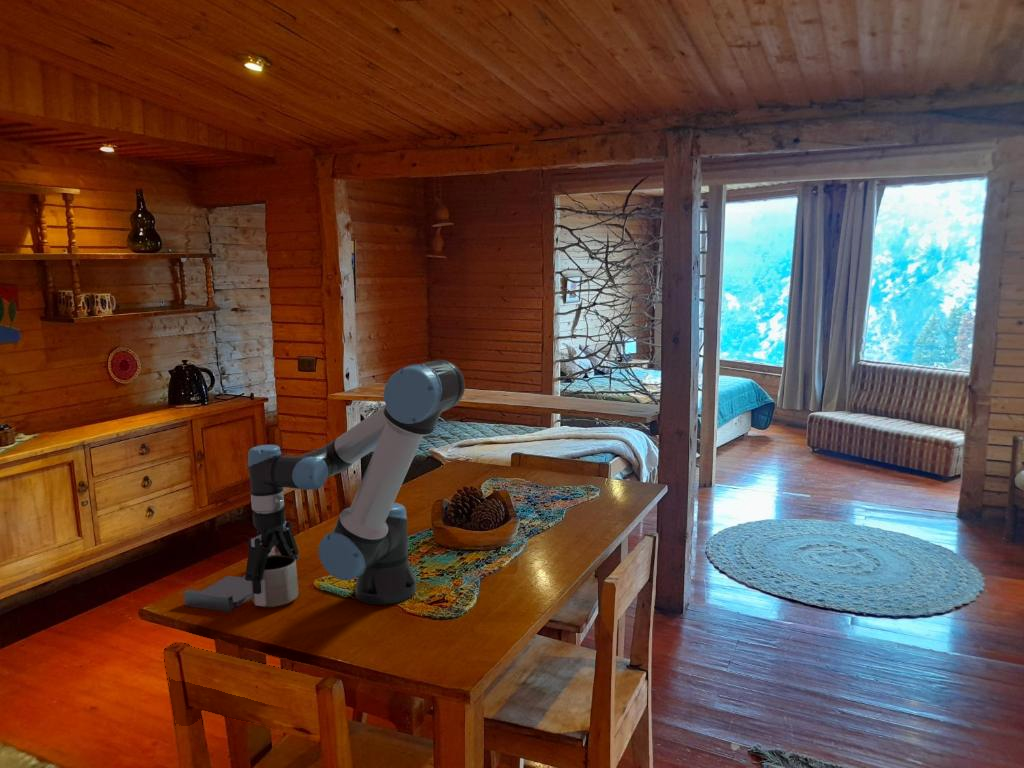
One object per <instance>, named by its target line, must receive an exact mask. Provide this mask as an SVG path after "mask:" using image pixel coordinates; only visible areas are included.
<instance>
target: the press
mask: <svg viewBox="0 0 1024 768" xmlns="http://www.w3.org/2000/svg"><path fill="white" fill-rule="evenodd" d="M295 556H297V560H296V561H298V560H299V559H301V557H300V555H295ZM245 575H246V574H244V575H242V576H241V577H239V576H233V575H226V576H224V578H222V579H220V580H218V581H216V582H215V583H212V584H211V585H209V586H207V587H206V588H205V589H203V590H194V589H189V588H188V589H186V590H185V591H183V594H184V595H183V597H184V605H185V606H186V607H187V606H188V607H193V608H198V609H199V608H200V609H207V610H215V611H221V612H228V613H230V612H232V611H233V610H234V607H235V608H237V607H240V606H241V605H242V604H244V603H245V602H247V601H249V600H250V599H251V598H252V586H251V581H247V580H245Z"/></svg>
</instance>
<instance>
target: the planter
mask: <svg viewBox="0 0 1024 768" xmlns="http://www.w3.org/2000/svg"><path fill="white" fill-rule="evenodd" d="M297 571H298V570H297V560H296V559H295V557H293V556H291V555H284V554H278V555H270V556H268V558H267V561H266V565H265V569H264V573H263V576H262V579H265V590H266V603H267V605H266V606H259V607H260V608H265V609H266V608H267V609H268V608H269V609H270V608H278V607H283V606H285V605H288V604H290V603H292V602H293V601H294V600H296V599H297V598H298V596H299V594H300V593H299V581H298V572H297ZM251 586H252V597H251V598H252V602H253V604H254V605H255V597H254V593H253V584H252V581H251Z"/></svg>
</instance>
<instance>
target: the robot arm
mask: <svg viewBox="0 0 1024 768" xmlns="http://www.w3.org/2000/svg"><path fill="white" fill-rule="evenodd" d="M464 377H465V376H464V374H463V372H462V371H461V370H460V368H459V367H458V366H457V365H455V364H454V363H452V362H450V361H448V360H443V359H435V360H429V361H427V362H423V363H420V364H419V363H417V364H411V365H410V364H409V365H406V366H404V367H402V368H400V369H399V370H397V371H395V372H394V373H393V374H392V375H391V376H390V377H389V378H388V380H387V382H386V384H385V385H384V388H383V397H382V399H383V402H384V403H385V404H384V405H383V406H382V407H381V408H379V409H378V410H376V411H374V413H371V415H369V416H367V417H366V418H364V419H363V420H361V421H360V422H359V423H357V424H356V425H353V426H352V427H351V428H350V429H349V430H347V431H345V432H344V433H342V434H341V435H339V436H338V437H336V438H335V439H334V440H332V441H331V442H329V443H327V444H325V445H324V446H322V447H320V448H318V449H314V450H312V451H308V452H306V453H303V454H301V455H297V456H296V455H295V456H293V455H284V454H282V451H281V447H280V446H279V445H276V444H261V445H257V446H253V447H251V448H250V449H248V451H247V459H248V460H247V468H248V474H249V483H250V485H249V486H250V501H251V504H250V505H251V510H252V511H253V512H252V523H253V527H254V528H255V529H256V530H257V531H256V536H255V537H249V538H248V554H247V561H246V569H245V574H244V575H245V580H247V581H252V584H253V593H254V597H255V604H254V605H255V606H258V607H260V606H266V605H267V603H266V590H265V579H262V576H263V573H264V569H265V565H266V561H267V558H268V554H269V553H270V552H271V550H272V548H273V547H274V546H275V545H276V547H277V548H278V550H279V552H280V553H281V554H284V555H291V556H293V557H295V559H296V561H298V560H297V556H299V551H300V550H299V548H298V545H297V542H296V539H295V536H294V533H293V531H292V522H291V521H287V519H286V508H284V506H285V498H284V488H288V489H297V490H298V489H299V490H302V491H303V490H304V491H309V490H319V489H322V488H323V486H324V484H326V483H327V480H328V478H330V477H331V476H334V475H337V474H341V473H343V472H345V471H346V470H348V469H349V468H351V466H352V465H353V464H354V463H355V462H357V461H358V460H360V459H362V458H363V457H365V456H367V455H369V454H370V453H371V452H373V453H372V456H371V458H370V461H369V463H368V465H367V468H366V469H365V472H364V474H363V477H362V480H361V482H360V484H359V486H358V488H357V491H356V493H355V497H354V498H353V500H352V503H351V505H350V507H347V508H344V509H343V510H342V511H341V512H340V514H339V516H338V518H337V521H336V524H335V526H334V528H333V530H332V531H331V532H328V533H327V534H326V535H324V537H322V539H320V542H319V545H318V551H317V552H318V557H319V560H320V562H321V565H322V567H323V568H324V569H325V571H326V572H327V573H328V574H330V576H332V577H334V578H335V579H338V580H341V581H351V580H354V579H356V578H357V579H356V584H355V587H354V588H355V597H356V599H357V600H358V601H359V602H362V603H363V604H368V605H376V606H378V605H379V606H380V605H381V606H382V605H383V606H385V605H393V604H397V603H400V602H404V601H406V600H408V599H411V598H412V597H413V596H414V595H415V594H416V592H417V582H416V578H415V574H414V573H413V569H412V567H411V564H410V562H409V545H408V544H409V543H408V542H409V541H408V517H407V510H406V506H404V505H403V504H401V503H398V502H395V501H396V498H397V496H398V494H399V491H400V490H401V487H402V485H403V483H404V480H405V478H406V475H407V473H408V471H409V469H410V467H411V464H412V462H413V460H414V458H415V456H416V454H417V451H418V449H419V447H420V444H421V442H422V440H423V438H424V437H427V436H430V435H432V434H433V432H434V430H435V427H436V426H437V423H438V421H439V419H440V418H441V417H440V416H441V415H442V413H443V412H446V411H448V410H450V409H452V408H453V407H455V406H456V405H458V403H460V401H461V400H462V399H463V396H464V394H465V391H466V382H465V378H464ZM295 555H296V556H295ZM411 596H412V597H411Z"/></svg>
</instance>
